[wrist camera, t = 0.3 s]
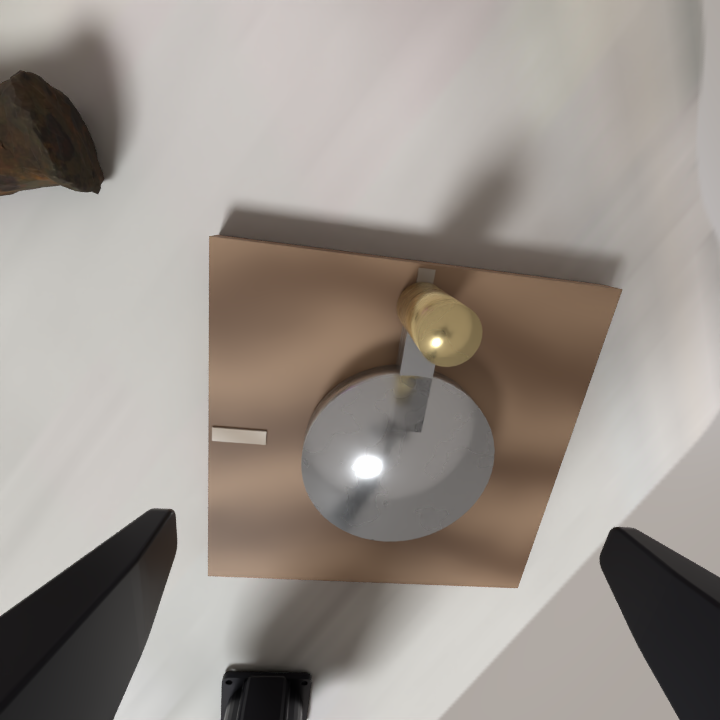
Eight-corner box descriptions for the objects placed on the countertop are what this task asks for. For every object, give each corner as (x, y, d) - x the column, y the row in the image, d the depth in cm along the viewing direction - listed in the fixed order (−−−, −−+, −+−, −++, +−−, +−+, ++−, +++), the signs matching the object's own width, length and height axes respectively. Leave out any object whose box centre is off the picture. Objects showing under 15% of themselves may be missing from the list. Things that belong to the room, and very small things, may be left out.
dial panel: (508, 569, 28) (518, 589, 26) (214, 556, 26) (207, 577, 24) (603, 284, 21) (623, 289, 20) (218, 235, 19) (208, 236, 17)
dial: (462, 526, 24) (494, 602, 19) (296, 517, 23) (287, 594, 18) (525, 294, 19) (588, 319, 15) (320, 268, 18) (316, 287, 13)
